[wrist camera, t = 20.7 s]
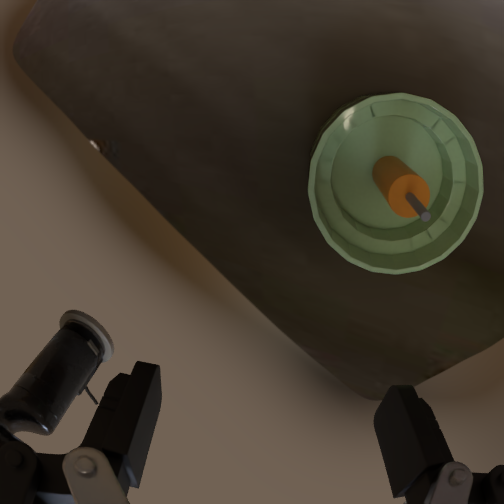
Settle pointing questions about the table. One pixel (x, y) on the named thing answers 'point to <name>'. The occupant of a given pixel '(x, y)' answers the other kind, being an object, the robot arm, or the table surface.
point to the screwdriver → (402, 188)
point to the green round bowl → (368, 194)
